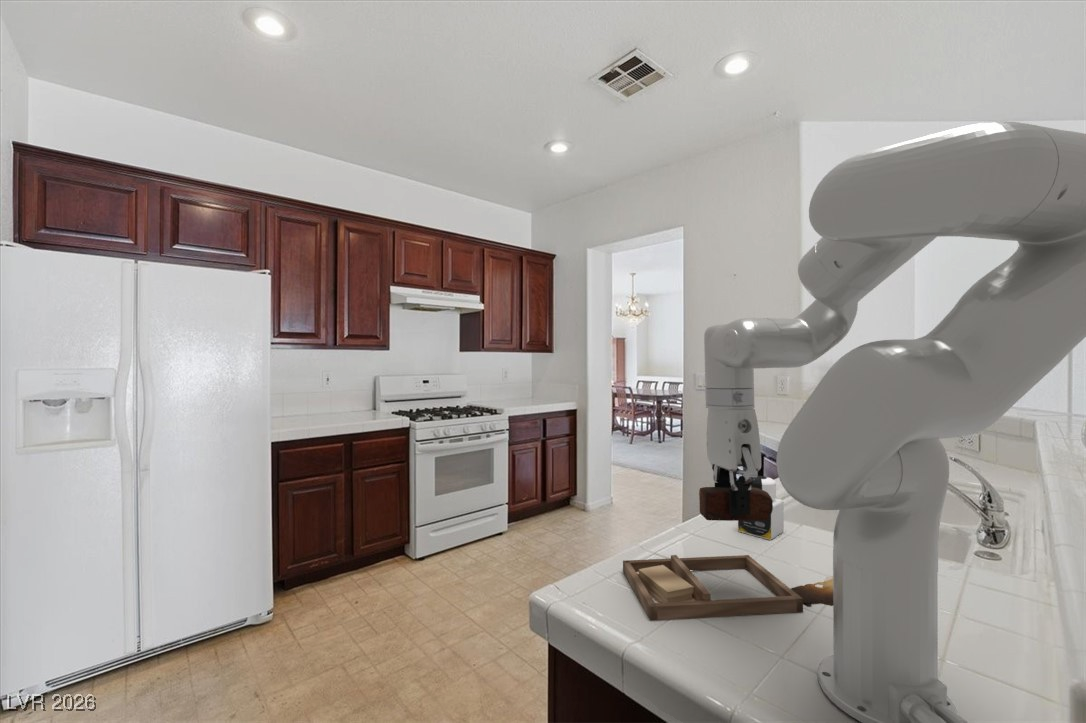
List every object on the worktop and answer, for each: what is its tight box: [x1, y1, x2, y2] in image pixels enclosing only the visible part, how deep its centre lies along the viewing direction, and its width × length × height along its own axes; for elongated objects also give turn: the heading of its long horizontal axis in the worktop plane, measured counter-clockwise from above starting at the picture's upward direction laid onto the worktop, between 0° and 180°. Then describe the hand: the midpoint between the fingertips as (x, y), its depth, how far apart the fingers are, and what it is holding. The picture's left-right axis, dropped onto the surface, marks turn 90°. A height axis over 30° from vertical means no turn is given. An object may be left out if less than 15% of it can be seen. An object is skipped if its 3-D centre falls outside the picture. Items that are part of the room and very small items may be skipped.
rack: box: [622, 554, 804, 621], centre depth 78 cm, size 16×24×3 cm
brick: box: [698, 486, 773, 522], centre depth 78 cm, size 11×4×5 cm, turn 88°
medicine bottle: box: [737, 475, 785, 541], centre depth 104 cm, size 7×7×12 cm
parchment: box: [789, 575, 833, 608], centre depth 79 cm, size 25×10×1 cm, turn 104°
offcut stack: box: [636, 565, 696, 603], centre depth 78 cm, size 10×5×3 cm, turn 20°
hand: (732, 509), depth 78 cm, fingers closed on brick, 4 cm apart
